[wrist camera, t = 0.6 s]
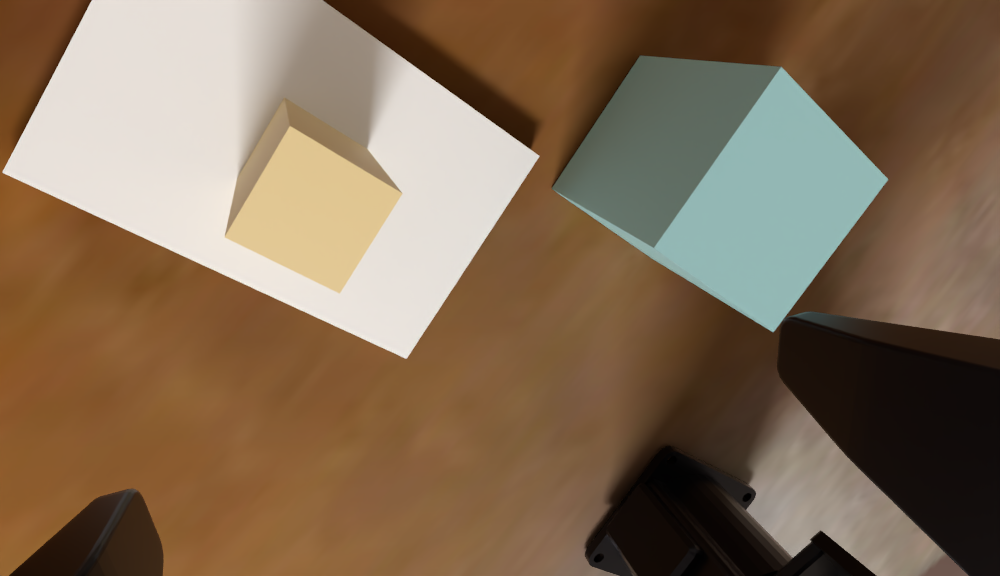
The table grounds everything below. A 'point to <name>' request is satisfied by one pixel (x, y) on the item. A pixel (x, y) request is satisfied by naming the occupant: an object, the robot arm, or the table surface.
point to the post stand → (275, 155)
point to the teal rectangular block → (723, 179)
